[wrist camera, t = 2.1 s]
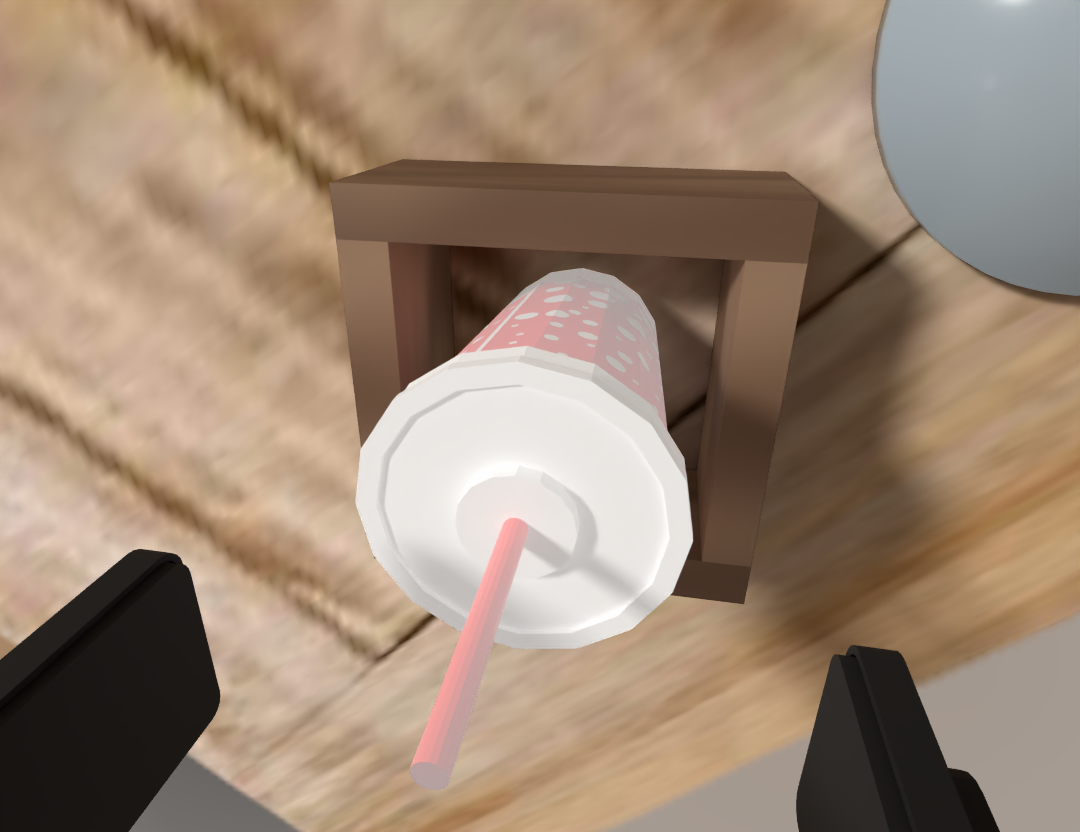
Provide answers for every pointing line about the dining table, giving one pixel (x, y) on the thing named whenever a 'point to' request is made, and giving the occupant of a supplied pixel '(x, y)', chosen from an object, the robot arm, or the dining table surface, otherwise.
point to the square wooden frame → (597, 227)
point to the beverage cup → (530, 487)
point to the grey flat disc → (986, 131)
